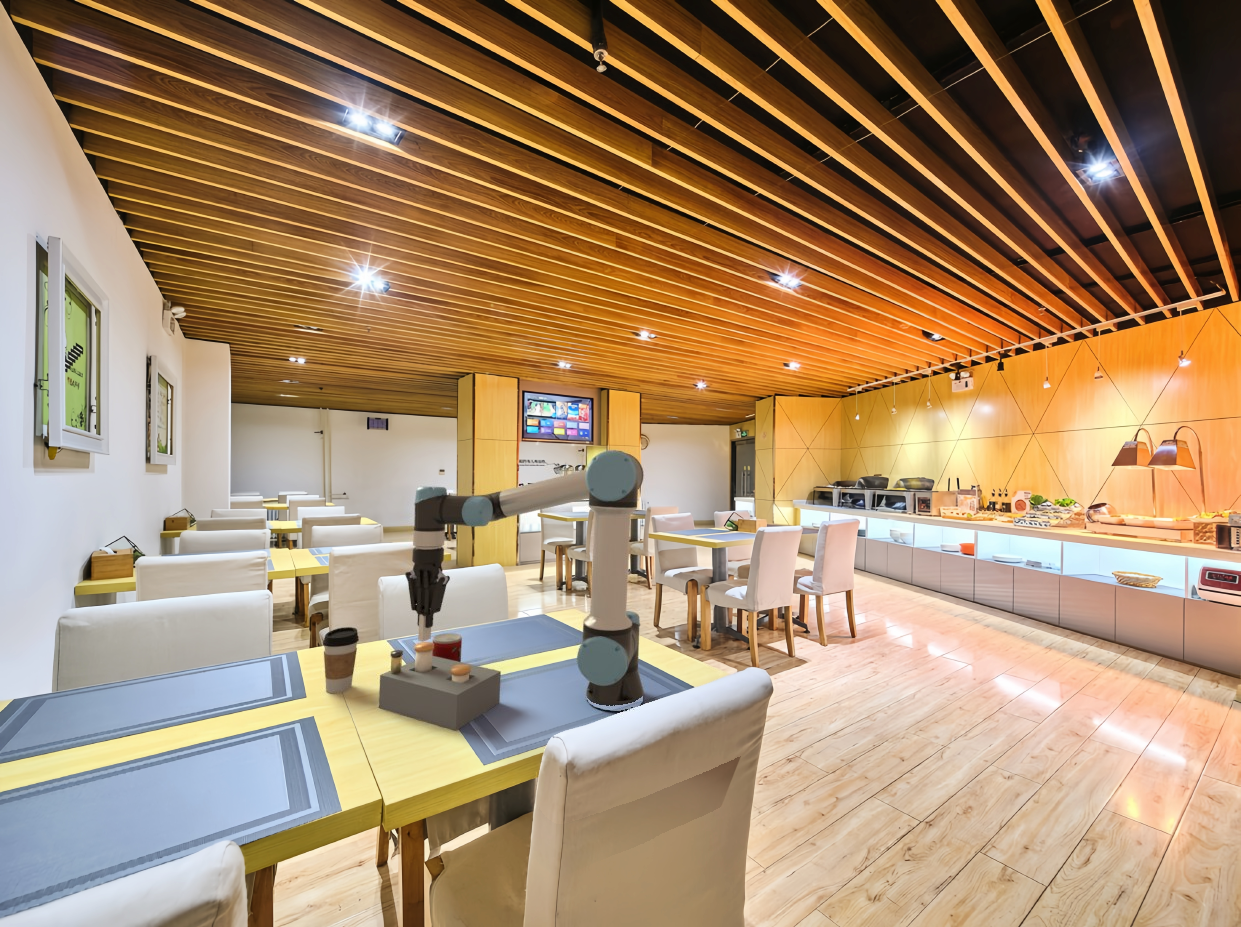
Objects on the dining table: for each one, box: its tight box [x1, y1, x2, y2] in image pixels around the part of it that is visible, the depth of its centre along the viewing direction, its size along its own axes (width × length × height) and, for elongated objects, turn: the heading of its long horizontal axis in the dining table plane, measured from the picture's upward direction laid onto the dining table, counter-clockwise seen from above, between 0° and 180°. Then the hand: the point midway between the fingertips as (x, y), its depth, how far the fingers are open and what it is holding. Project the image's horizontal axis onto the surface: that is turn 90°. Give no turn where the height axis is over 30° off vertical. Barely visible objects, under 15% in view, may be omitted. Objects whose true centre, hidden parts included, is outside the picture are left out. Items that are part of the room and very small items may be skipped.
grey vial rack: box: [378, 656, 502, 732], centre depth 128 cm, size 24×16×8 cm, turn 66°
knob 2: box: [451, 664, 471, 683], centre depth 126 cm, size 5×5×8 cm
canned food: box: [432, 632, 463, 662], centre depth 147 cm, size 8×8×11 cm
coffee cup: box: [322, 626, 360, 694], centre depth 136 cm, size 8×8×15 cm
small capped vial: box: [390, 649, 404, 674], centre depth 128 cm, size 3×3×5 cm
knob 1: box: [414, 641, 434, 674], centre depth 131 cm, size 5×5×8 cm
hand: (424, 639), depth 131 cm, fingers closed
